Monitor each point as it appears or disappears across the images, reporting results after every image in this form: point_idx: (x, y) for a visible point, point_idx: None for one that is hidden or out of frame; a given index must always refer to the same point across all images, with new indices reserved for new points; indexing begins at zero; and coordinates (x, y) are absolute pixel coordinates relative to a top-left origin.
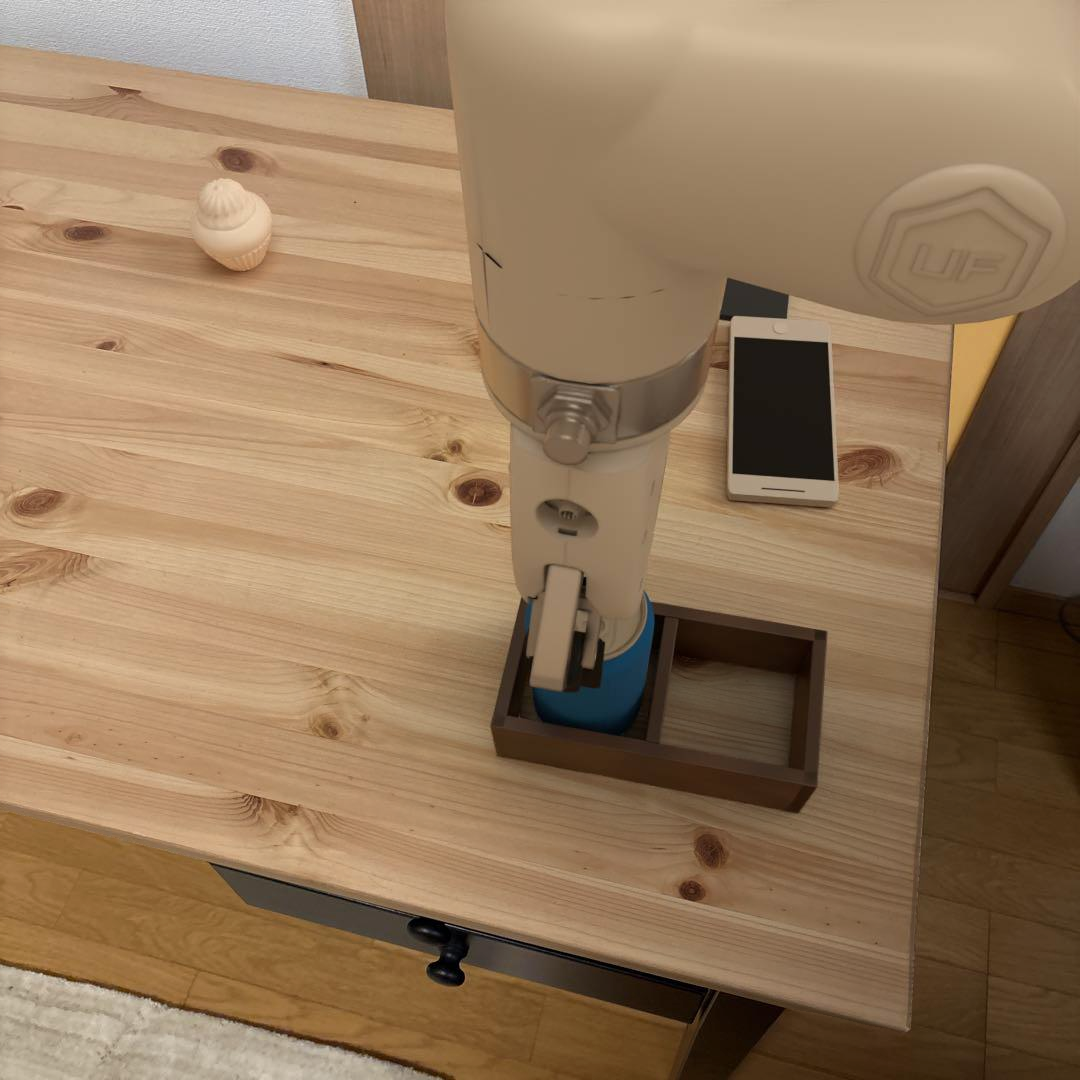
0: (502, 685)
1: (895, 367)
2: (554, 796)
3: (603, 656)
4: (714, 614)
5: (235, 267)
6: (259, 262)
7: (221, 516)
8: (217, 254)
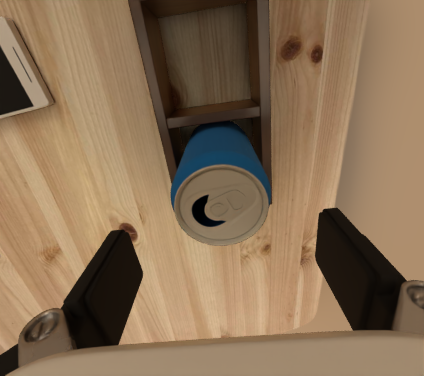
0: None
1: None
2: (276, 148)
3: (369, 252)
4: (152, 93)
5: None
6: None
7: (188, 310)
8: None
